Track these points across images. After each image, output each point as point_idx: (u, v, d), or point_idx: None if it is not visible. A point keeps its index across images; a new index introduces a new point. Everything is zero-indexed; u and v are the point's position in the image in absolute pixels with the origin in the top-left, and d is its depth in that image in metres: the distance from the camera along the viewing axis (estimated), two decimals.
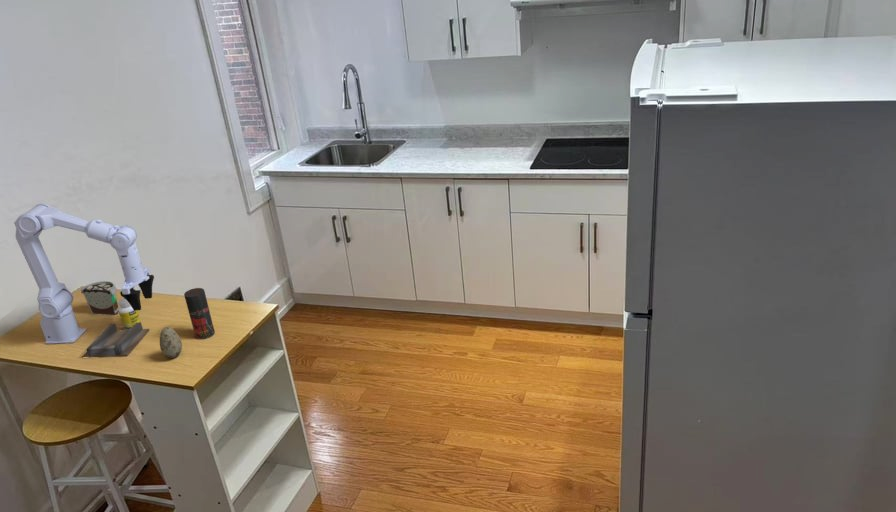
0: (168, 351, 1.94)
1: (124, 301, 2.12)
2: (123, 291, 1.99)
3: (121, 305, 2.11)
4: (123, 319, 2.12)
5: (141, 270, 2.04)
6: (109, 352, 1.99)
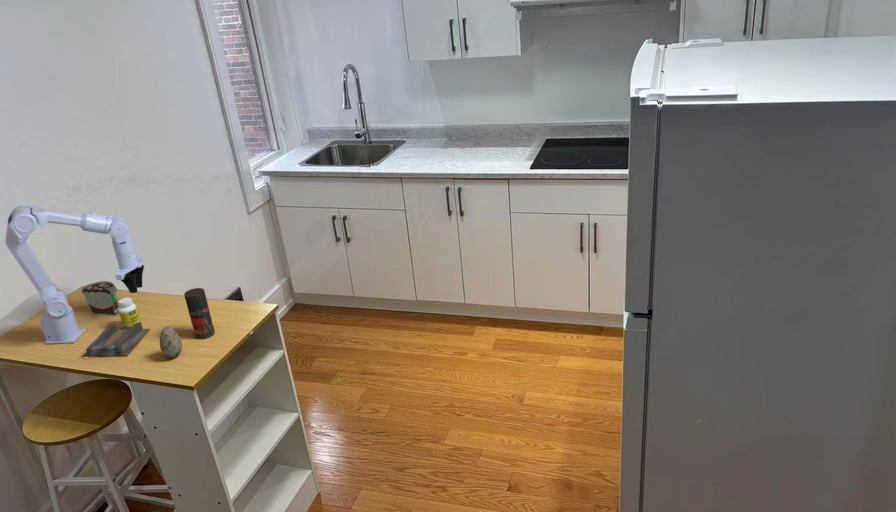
0: (168, 351, 1.94)
1: (124, 301, 2.12)
2: (117, 277, 2.10)
3: (121, 305, 2.11)
4: (123, 319, 2.12)
5: (134, 257, 2.14)
6: (109, 352, 1.99)
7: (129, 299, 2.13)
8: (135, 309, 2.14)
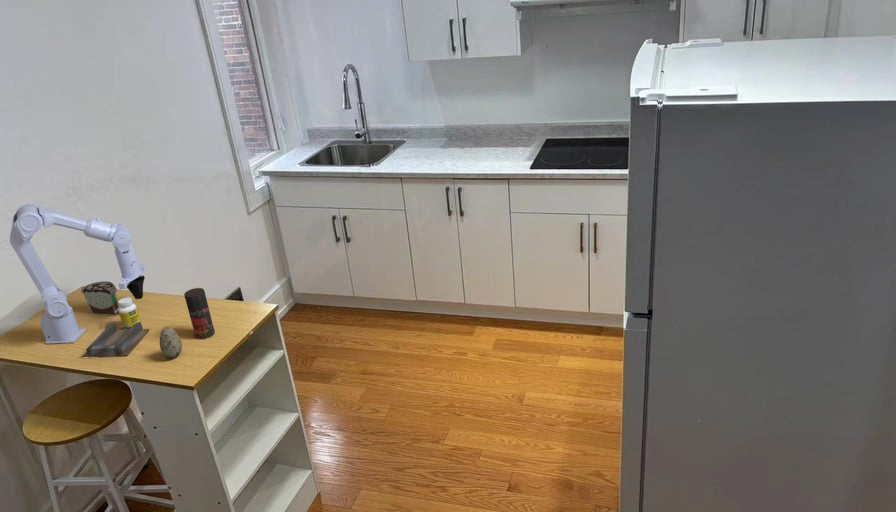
0: (168, 351, 1.94)
1: (124, 301, 2.12)
2: (120, 286, 2.11)
3: (121, 305, 2.11)
4: (123, 319, 2.12)
5: (137, 266, 2.16)
6: (109, 352, 1.99)
7: (129, 299, 2.13)
8: (135, 309, 2.14)
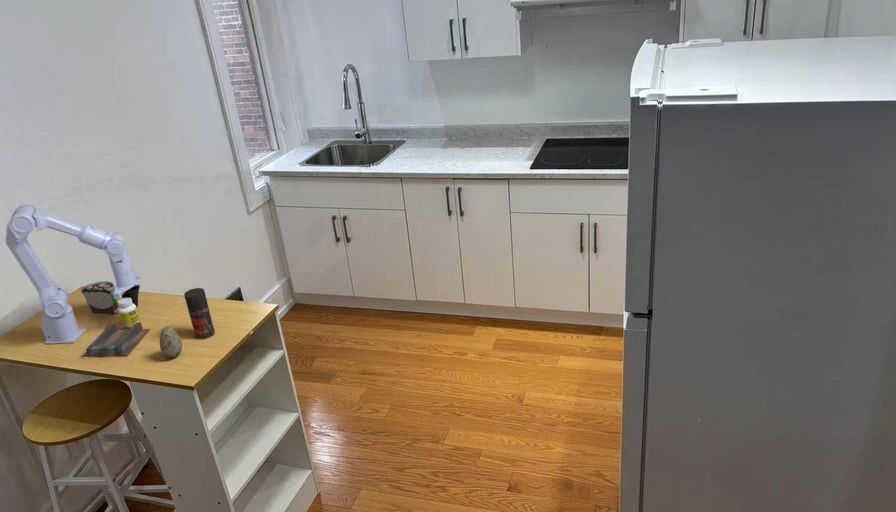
0: (168, 351, 1.94)
1: (124, 301, 2.12)
2: (115, 296, 2.08)
3: (121, 305, 2.11)
4: (123, 319, 2.12)
5: (132, 275, 2.13)
6: (109, 352, 1.99)
7: (129, 299, 2.13)
8: (135, 309, 2.14)
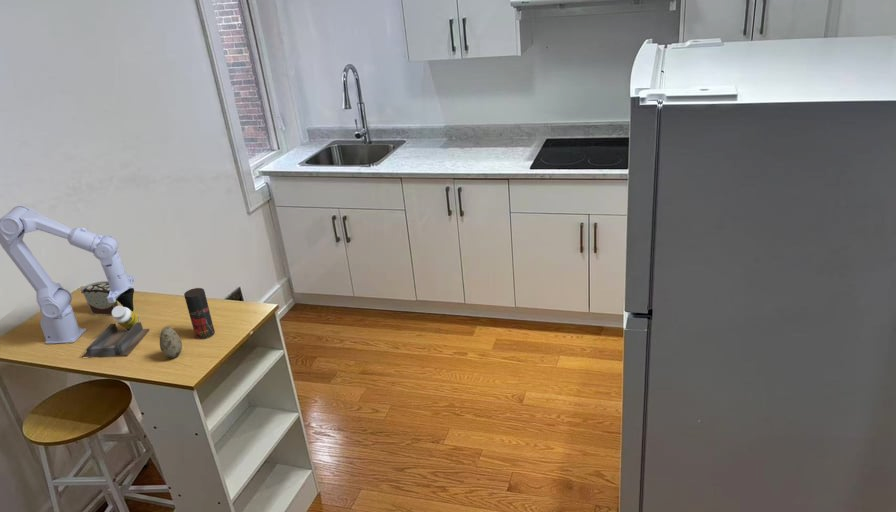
0: (168, 351, 1.94)
1: (117, 313, 2.06)
2: (109, 300, 2.03)
3: (115, 317, 2.07)
4: (121, 325, 2.11)
5: (125, 278, 2.08)
6: (109, 352, 1.99)
7: (122, 310, 2.07)
8: (130, 316, 2.10)
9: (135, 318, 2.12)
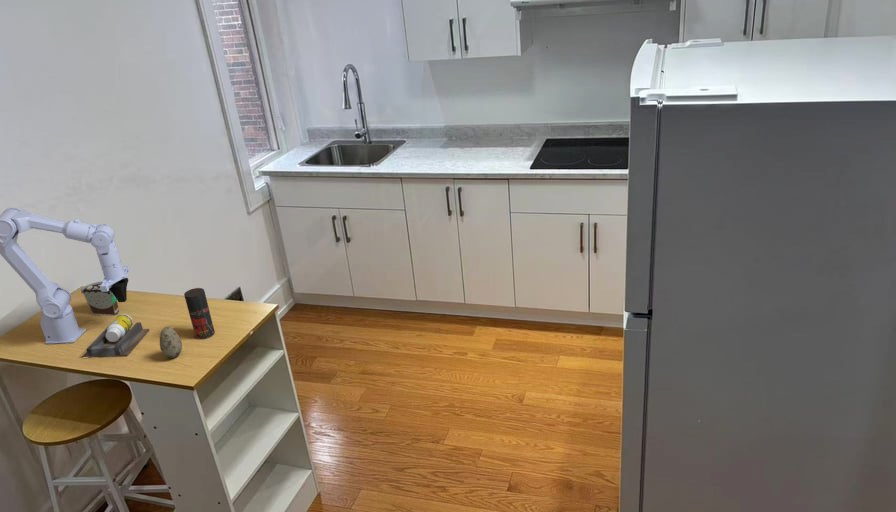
0: (168, 351, 1.94)
1: (114, 338, 2.05)
2: (102, 288, 2.03)
3: None
4: None
5: (120, 268, 2.07)
6: (109, 352, 1.99)
7: (114, 334, 2.04)
8: (123, 328, 2.08)
9: (126, 322, 2.10)
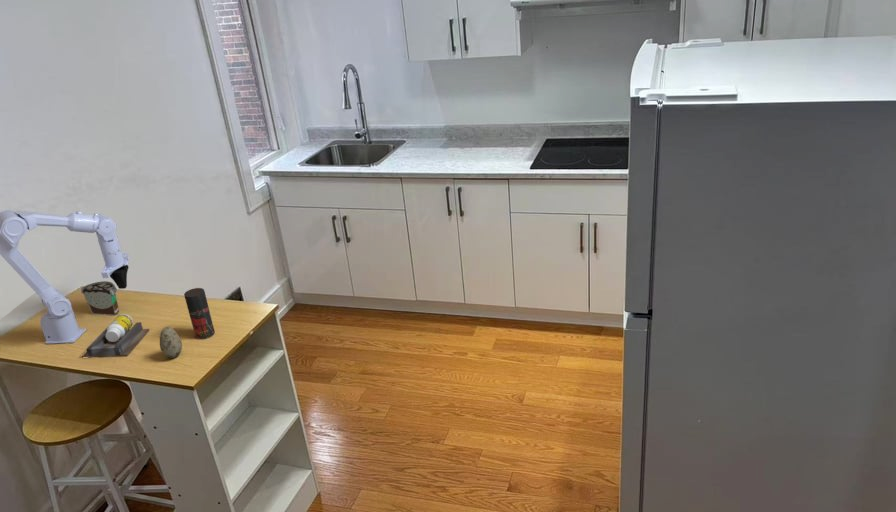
0: (168, 351, 1.94)
1: (114, 338, 2.05)
2: (103, 275, 2.11)
3: None
4: None
5: (120, 255, 2.15)
6: (109, 352, 1.99)
7: (114, 334, 2.04)
8: (123, 327, 2.08)
9: (126, 322, 2.10)
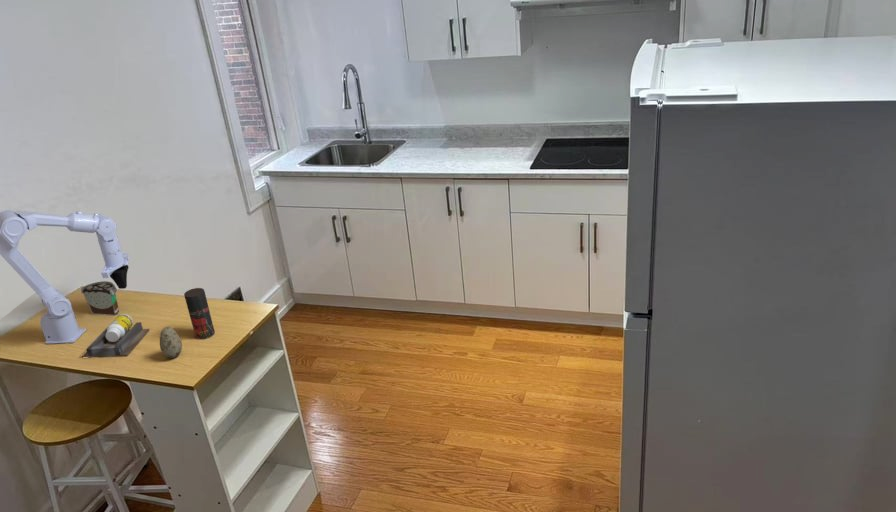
0: (168, 351, 1.94)
1: (114, 338, 2.05)
2: (103, 275, 2.11)
3: None
4: None
5: (120, 255, 2.15)
6: (109, 352, 1.99)
7: (114, 334, 2.04)
8: (123, 327, 2.08)
9: (126, 322, 2.10)
